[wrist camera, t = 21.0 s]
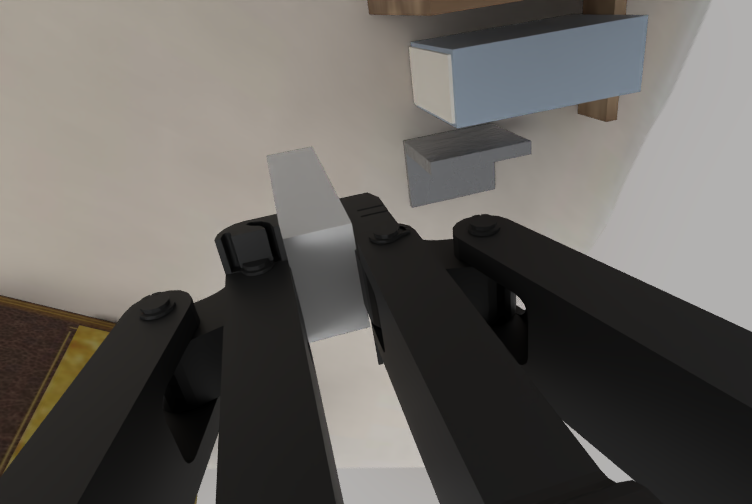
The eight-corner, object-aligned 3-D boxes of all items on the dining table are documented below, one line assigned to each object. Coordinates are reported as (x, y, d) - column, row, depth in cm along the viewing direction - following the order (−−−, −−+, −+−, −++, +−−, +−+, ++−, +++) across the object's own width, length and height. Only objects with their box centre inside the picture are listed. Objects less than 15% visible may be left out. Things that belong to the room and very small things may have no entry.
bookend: (403, 140, 42) (430, 162, 36) (490, 122, 44) (531, 141, 38) (410, 205, 45) (437, 236, 39) (492, 187, 46) (530, 214, 40)
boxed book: (407, 42, 39) (448, 50, 31) (571, 14, 41) (648, 14, 34) (413, 106, 42) (453, 129, 34) (568, 77, 44) (640, 91, 36)
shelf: (366, -8, 37) (428, -18, 25) (596, -44, 40) (754, -69, 28) (387, 152, 43) (446, 209, 30) (587, 111, 45) (715, 148, 33)
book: (220, 337, 46) (200, 629, 24) (190, 407, 49) (148, 729, 27) (-68, 265, 38) (-492, 614, 16) (-87, 355, 40) (-476, 762, 18)
